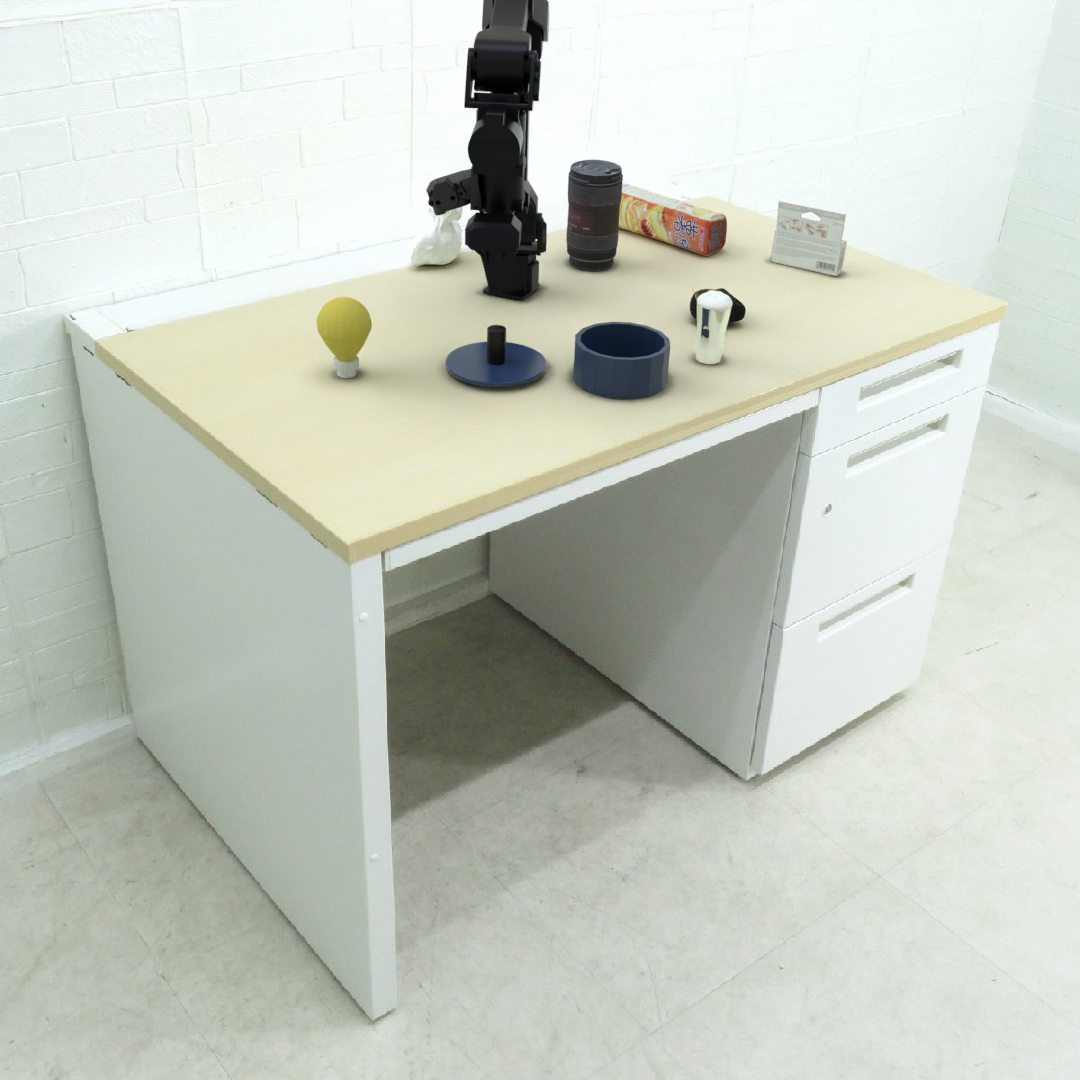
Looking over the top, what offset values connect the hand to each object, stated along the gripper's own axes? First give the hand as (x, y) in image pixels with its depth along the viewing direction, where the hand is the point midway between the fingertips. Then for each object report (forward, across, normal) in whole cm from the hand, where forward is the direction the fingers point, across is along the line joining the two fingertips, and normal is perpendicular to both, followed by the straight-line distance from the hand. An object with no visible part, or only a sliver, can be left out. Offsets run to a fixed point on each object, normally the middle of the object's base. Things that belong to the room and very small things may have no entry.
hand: (498, 280), depth 158 cm
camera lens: (+12, -41, +11) cm, 44 cm away
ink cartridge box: (+12, -44, +44) cm, 64 cm away
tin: (+12, 0, +16) cm, 20 cm away
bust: (+12, -38, -12) cm, 42 cm away
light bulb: (+12, +4, -18) cm, 22 cm away
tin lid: (+11, 0, 0) cm, 11 cm away
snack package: (+12, -55, +22) cm, 60 cm away
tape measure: (+12, -21, +29) cm, 38 cm away
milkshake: (+12, -7, +27) cm, 30 cm away
